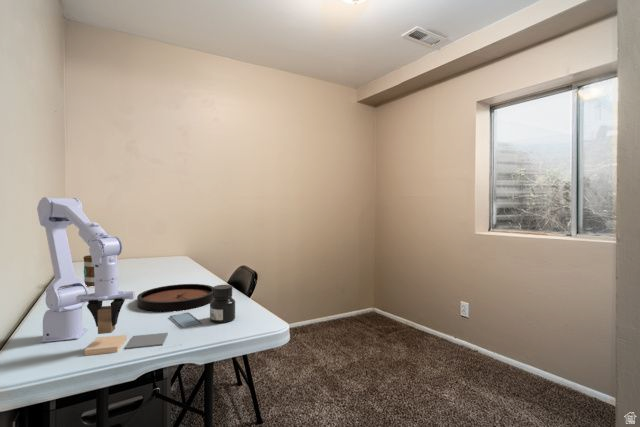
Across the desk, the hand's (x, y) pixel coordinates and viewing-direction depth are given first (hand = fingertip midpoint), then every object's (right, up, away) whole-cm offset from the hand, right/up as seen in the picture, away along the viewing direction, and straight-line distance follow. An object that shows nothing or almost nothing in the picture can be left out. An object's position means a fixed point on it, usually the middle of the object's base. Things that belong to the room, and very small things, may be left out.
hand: (106, 325), depth 96 cm
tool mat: (+10, -6, +4) cm, 12 cm away
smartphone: (+14, -7, +22) cm, 27 cm away
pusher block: (0, -2, 0) cm, 2 cm away
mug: (-57, -5, +80) cm, 98 cm away
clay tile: (-1, -6, +4) cm, 7 cm away
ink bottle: (+27, -6, +24) cm, 36 cm away
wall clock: (+1, -6, +47) cm, 48 cm away
